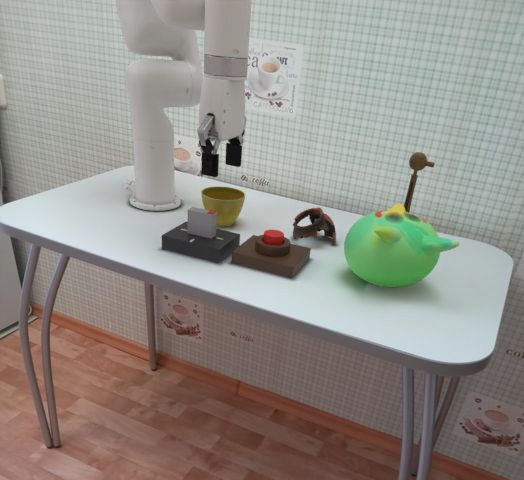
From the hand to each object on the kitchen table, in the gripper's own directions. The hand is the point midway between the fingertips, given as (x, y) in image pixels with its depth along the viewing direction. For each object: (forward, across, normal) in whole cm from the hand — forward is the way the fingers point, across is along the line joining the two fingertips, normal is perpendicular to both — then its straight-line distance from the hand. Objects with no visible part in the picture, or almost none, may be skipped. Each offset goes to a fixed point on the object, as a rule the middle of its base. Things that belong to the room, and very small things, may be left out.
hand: (221, 170), depth 97 cm
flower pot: (+17, -16, -7) cm, 24 cm away
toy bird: (+17, -6, +34) cm, 38 cm away
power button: (+13, -2, +11) cm, 17 cm away
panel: (+17, 0, -4) cm, 17 cm away
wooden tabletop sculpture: (+17, -32, +32) cm, 48 cm away
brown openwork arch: (+17, -19, +15) cm, 29 cm away
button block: (+17, -2, +11) cm, 20 cm away
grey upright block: (+14, 0, -4) cm, 14 cm away
